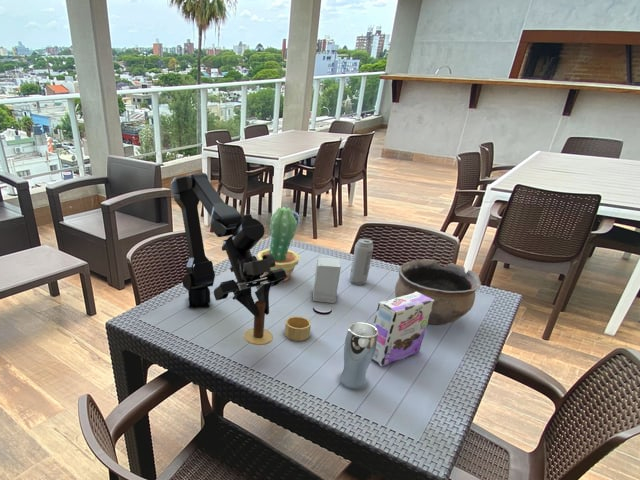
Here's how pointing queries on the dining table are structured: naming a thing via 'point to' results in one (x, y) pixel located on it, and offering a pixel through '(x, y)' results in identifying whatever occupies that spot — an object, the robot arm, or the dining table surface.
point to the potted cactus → (282, 240)
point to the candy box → (401, 327)
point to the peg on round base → (259, 328)
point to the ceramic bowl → (439, 288)
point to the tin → (297, 328)
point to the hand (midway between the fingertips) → (262, 315)
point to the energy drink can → (361, 261)
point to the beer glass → (358, 354)
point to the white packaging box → (326, 280)
